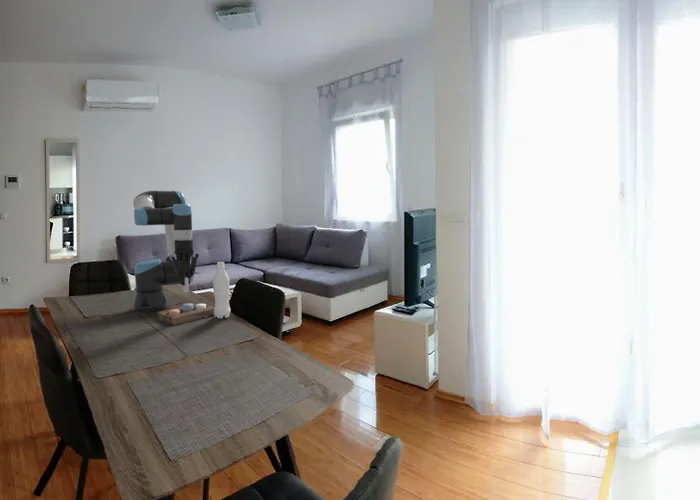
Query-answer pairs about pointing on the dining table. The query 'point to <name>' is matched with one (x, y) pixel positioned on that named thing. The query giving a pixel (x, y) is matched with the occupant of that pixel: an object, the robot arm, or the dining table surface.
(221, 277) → the water bottle
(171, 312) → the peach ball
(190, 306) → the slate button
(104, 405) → the dining table surface
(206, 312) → the brown wooden tray
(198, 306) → the cream rounded lump
